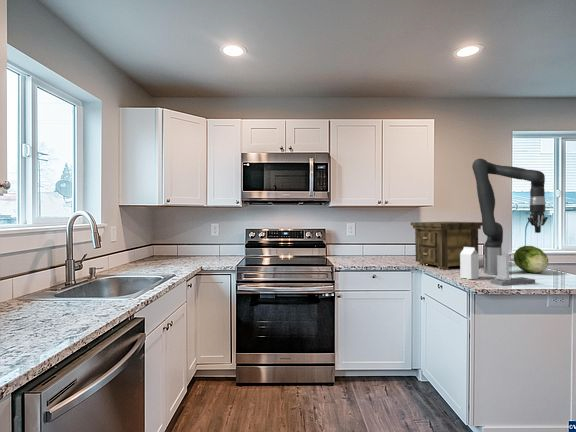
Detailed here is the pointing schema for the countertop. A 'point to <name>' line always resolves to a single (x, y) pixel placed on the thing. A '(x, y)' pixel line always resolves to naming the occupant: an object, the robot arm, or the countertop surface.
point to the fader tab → (503, 267)
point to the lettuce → (531, 259)
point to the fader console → (513, 281)
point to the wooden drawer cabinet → (444, 241)
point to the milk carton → (469, 263)
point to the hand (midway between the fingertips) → (537, 232)
